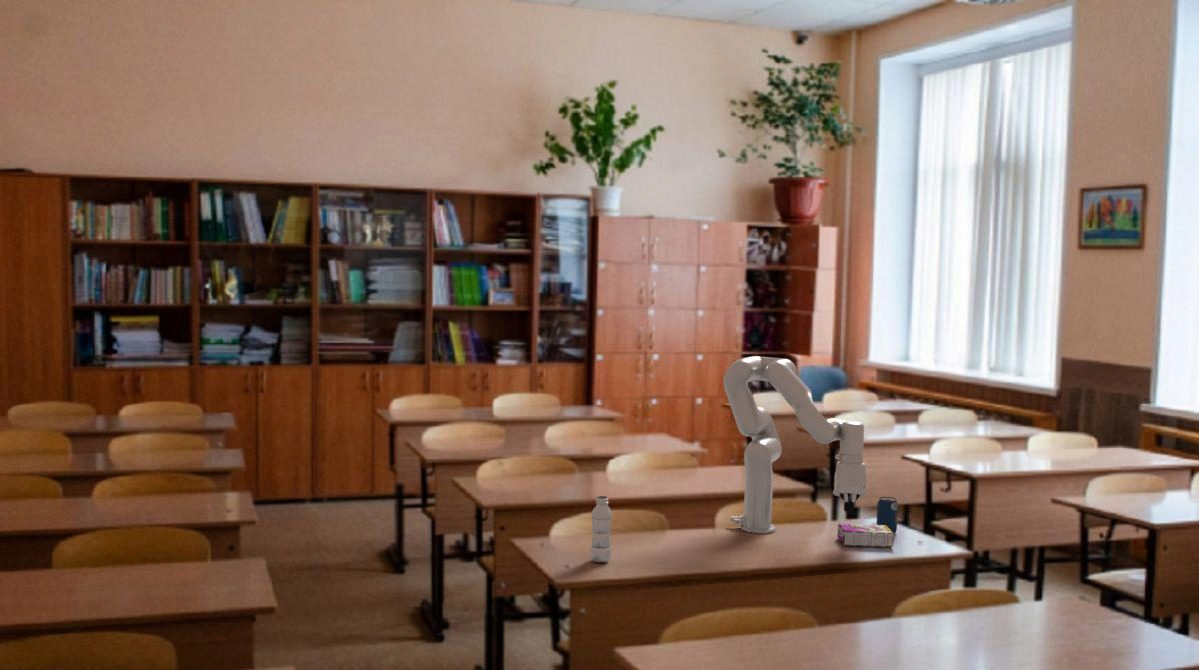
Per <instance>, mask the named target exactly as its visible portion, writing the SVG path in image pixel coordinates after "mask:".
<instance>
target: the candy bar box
mask: <svg viewBox="0 0 1199 670" xmlns="http://www.w3.org/2000/svg"><path fill="white" fill-rule="evenodd" d="M894 536H895V534H894V533H893V532H892V531H891V530H890V529H889V528H888V527H887V526H886V525H876V524H861V523H860V524H853V523H838V524H837V538H838V539H839V541H840V542H841V543H842V545H843V546H845V545H849V546H848V547H861V546H877V547H876V548H885V547H891V548H894V541H895V540H894Z"/></svg>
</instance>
